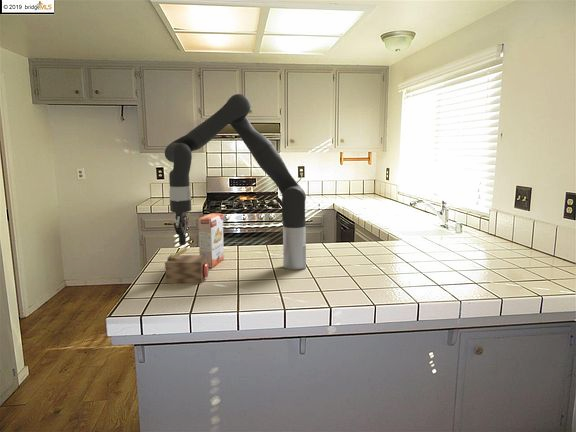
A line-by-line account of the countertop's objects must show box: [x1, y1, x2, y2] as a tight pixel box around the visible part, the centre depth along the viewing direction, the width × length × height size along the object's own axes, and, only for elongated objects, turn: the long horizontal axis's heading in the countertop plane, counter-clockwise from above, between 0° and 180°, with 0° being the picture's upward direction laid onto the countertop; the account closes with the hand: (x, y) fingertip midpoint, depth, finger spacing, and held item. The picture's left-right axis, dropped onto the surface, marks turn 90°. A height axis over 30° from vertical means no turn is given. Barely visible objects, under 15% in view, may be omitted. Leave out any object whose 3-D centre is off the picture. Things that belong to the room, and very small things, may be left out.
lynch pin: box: [203, 264, 210, 278], centre depth 154 cm, size 15×5×5 cm, turn 90°
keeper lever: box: [167, 247, 188, 260], centre depth 153 cm, size 7×4×1 cm, turn 90°
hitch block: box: [164, 254, 206, 285], centre depth 154 cm, size 13×10×8 cm
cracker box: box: [197, 212, 225, 269], centre depth 173 cm, size 14×6×21 cm, turn 168°
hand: (182, 244), depth 152 cm, fingers closed
